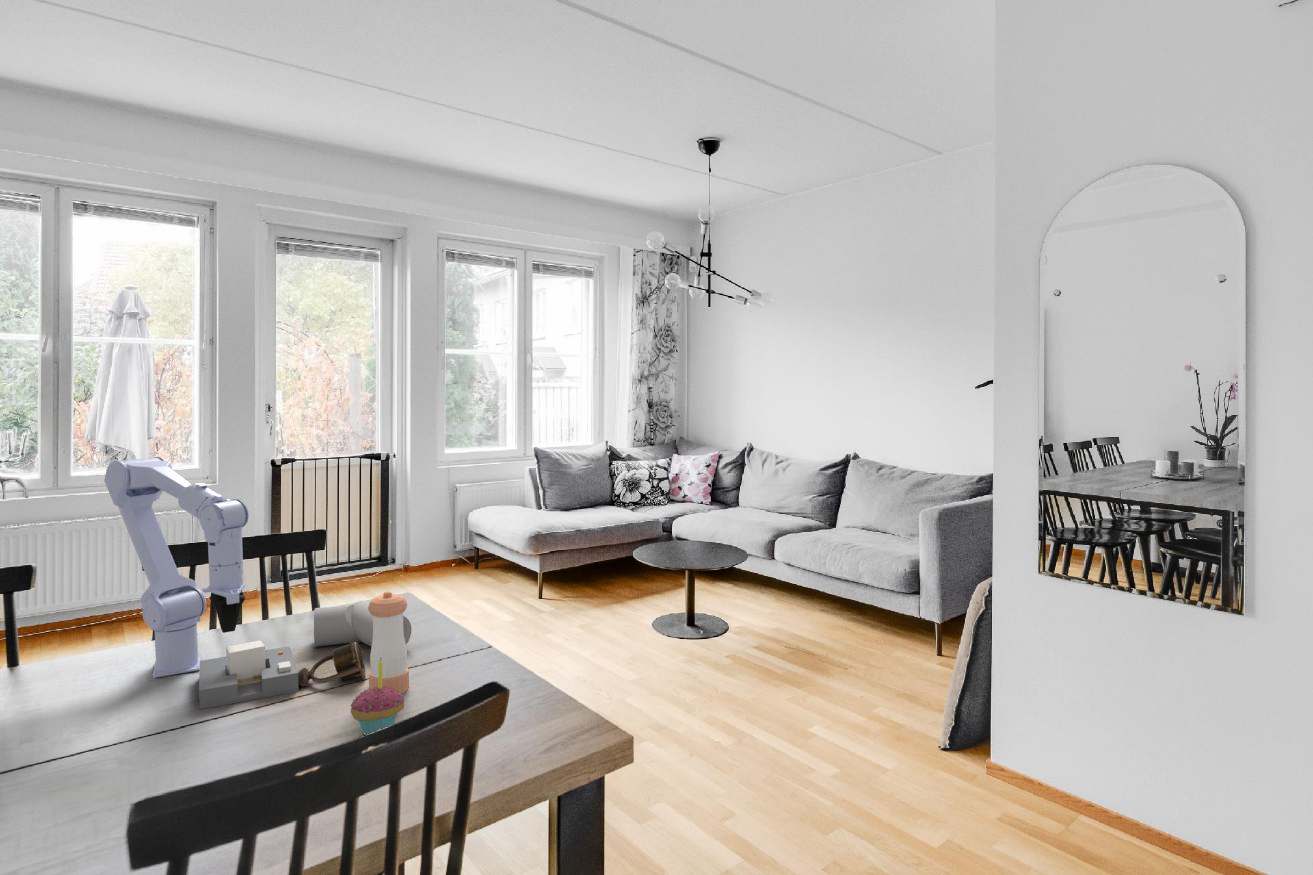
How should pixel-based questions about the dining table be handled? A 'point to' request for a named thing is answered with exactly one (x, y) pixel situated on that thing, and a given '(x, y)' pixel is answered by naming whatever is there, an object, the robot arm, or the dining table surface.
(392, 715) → the cupcake
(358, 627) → the bent grey cylinder
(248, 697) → the socket board
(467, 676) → the dining table surface
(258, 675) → the plug
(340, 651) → the bronze loop with drum
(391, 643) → the pepper shaker
